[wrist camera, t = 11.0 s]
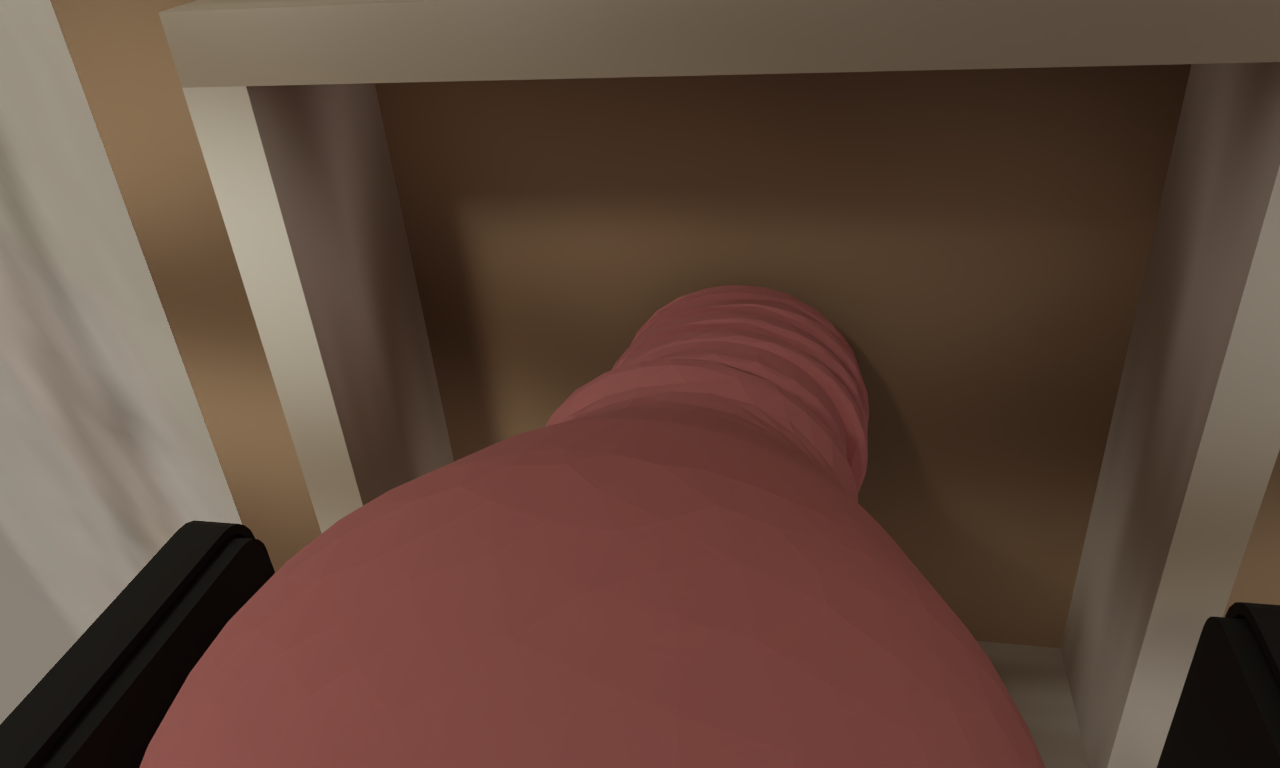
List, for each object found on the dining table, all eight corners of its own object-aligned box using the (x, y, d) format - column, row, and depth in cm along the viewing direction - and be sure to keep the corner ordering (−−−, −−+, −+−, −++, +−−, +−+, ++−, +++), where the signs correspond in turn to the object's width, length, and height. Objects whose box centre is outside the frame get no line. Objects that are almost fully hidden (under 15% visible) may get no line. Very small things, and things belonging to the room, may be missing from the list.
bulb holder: (79, -63, 14) (-160, -17, 11) (1694, -160, 10) (2102, -136, 7) (300, 587, 21) (195, 739, 18) (1324, 681, 17) (1439, 900, 14)
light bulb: (414, 273, 15) (-501, 1251, 5) (826, 29, 12) (640, 1284, 2) (655, 588, 17) (375, 1662, 7) (1045, 452, 14) (1473, 1963, 4)
